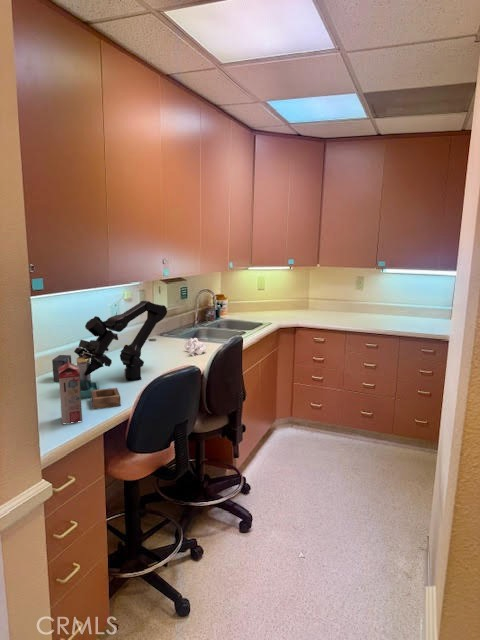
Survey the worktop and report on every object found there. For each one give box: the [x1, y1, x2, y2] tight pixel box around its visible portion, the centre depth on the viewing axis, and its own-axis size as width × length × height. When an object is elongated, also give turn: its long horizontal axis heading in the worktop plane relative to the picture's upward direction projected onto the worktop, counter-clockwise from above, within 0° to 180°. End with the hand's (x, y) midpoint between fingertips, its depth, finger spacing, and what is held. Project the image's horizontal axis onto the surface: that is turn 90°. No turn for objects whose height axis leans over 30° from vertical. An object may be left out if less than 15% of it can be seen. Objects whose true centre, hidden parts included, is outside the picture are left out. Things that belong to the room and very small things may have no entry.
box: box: [51, 354, 72, 383], centre depth 195 cm, size 8×6×11 cm
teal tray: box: [81, 381, 101, 400], centre depth 179 cm, size 11×11×3 cm
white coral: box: [182, 337, 207, 357], centre depth 243 cm, size 12×9×10 cm
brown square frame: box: [90, 387, 122, 410], centre depth 170 cm, size 10×10×4 cm
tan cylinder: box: [76, 356, 92, 391], centre depth 178 cm, size 5×5×13 cm
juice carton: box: [58, 358, 83, 425], centre depth 152 cm, size 7×7×22 cm
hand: (81, 374), depth 177 cm, fingers closed on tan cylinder, 5 cm apart
